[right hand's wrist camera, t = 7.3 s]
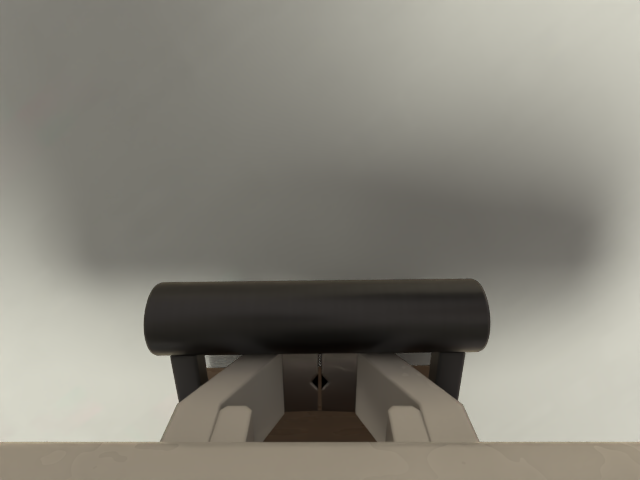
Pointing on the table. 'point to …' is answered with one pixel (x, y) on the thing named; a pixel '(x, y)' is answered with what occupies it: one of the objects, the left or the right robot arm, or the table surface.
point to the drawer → (317, 332)
